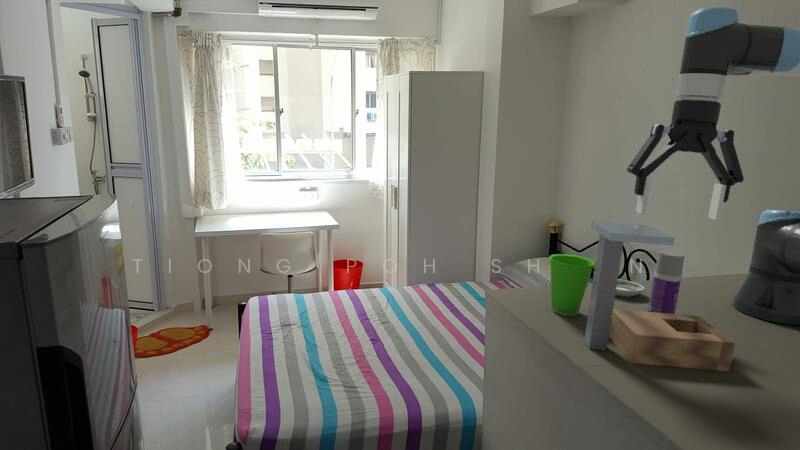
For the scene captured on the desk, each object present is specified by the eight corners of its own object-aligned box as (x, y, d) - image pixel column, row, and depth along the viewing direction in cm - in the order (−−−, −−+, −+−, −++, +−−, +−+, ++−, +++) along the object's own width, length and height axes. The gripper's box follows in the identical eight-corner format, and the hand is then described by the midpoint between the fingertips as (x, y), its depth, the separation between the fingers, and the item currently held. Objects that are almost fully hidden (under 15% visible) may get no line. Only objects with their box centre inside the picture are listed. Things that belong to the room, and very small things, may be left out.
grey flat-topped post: (630, 338, 101) (649, 225, 97) (652, 362, 92) (674, 238, 87) (575, 333, 102) (592, 221, 97) (592, 357, 92) (610, 233, 88)
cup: (533, 308, 114) (540, 257, 111) (558, 301, 120) (564, 252, 117) (572, 322, 107) (580, 268, 105) (596, 314, 113) (604, 262, 111)
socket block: (694, 341, 102) (698, 316, 101) (729, 371, 90) (735, 342, 89) (606, 334, 102) (610, 308, 101) (630, 363, 91) (635, 334, 90)
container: (674, 333, 105) (688, 257, 102) (648, 330, 106) (661, 254, 103) (668, 324, 110) (681, 251, 107) (643, 321, 111) (655, 249, 108)
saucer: (630, 288, 134) (632, 278, 133) (651, 302, 124) (652, 291, 124) (592, 286, 133) (593, 276, 132) (609, 300, 124) (611, 289, 123)
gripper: (755, 105, 103) (733, 217, 107) (620, 95, 103) (603, 206, 107) (781, 105, 95) (756, 225, 100) (636, 93, 96) (617, 213, 100)
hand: (676, 216), depth 104 cm, fingers open, 13 cm apart
